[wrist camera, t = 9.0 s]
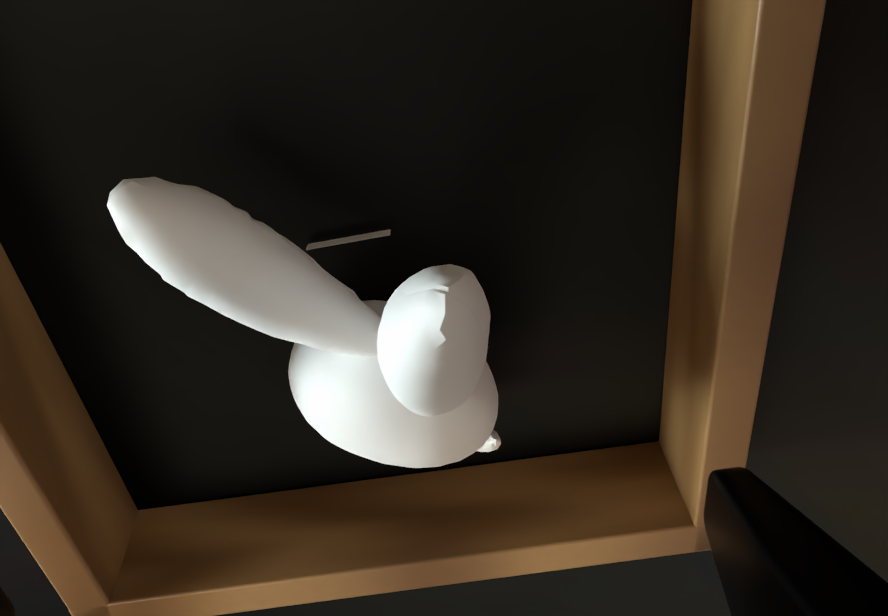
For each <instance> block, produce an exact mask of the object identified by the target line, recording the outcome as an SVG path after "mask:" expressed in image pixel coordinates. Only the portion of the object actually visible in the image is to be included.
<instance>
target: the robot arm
mask: <svg viewBox="0 0 888 616" xmlns="http://www.w3.org/2000/svg"><path fill="white" fill-rule="evenodd" d="M704 525H705V530H706V534H707V537H708V540H709V543H710V547H711V550H712V553H713V556H714V560H715V563H716V566H717V569H718V573H719V576H720V579H721V582H722V586H723V589H724V592H725V595H726V599H727V602H728V605H729V608H730V612H731V615H732V616H888V583H887V582H886V581H885V580H884V579H882V578H881V577H880V576H879V575H877V574H876V573H875V572H874V571H872V570H871V569H870V568H869V567H868V566H866V565H865V564H864V563H863V562H861V561H860V560H859V559H858V558H856V557H855V556H854V555H853V554H852V553H850V552H849V551H848V550H847V549H845V548H844V547H843V546H842V545H840V544H839V543H838V542H837V541H836V540H834V539H833V538H832V537H831V536H829V535H828V534H827V533H826V532H824V531H823V530H822V529H821V528H820V527H818V526H817V525H816V524H815V523H813V522H812V521H811V520H810V519H808V518H807V517H806V516H805V515H804V514H802V513H801V512H800V511H799V510H797V509H796V508H795V507H794V506H793V505H791V504H790V503H789V502H788V501H786V500H785V499H784V498H783V497H781V496H780V495H779V494H778V493H777V492H775V491H774V490H773V489H772V488H770V487H769V486H768V485H767V484H765V483H764V482H763V481H762V480H761V479H759V478H758V477H757V476H756V475H754V474H753V473H752V472H751V471H749V470H748V469H746V468H743V467H733V468H725V469H718V470H714V471H712V472H711V473H710V475H709V478H708V484H707V491H706V499H705V506H704ZM0 616H16V615H15V609H14V606H13V604H12V602H11V600H10V599H9V598H8V596H7V595H6V594H5V592H4V591H3V590H2V588H1V587H0Z"/></svg>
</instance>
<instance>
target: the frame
mask: <svg viewBox="0 0 888 616" xmlns="http://www.w3.org/2000/svg"><path fill="white" fill-rule="evenodd" d="M825 5H826V0H693V2H692V15H691V28H690V41H689V54H688V67H687V81H686V94H685V107H684V120H683V133H682V146H681V159H680V173H679V186H678V199H677V212H676V225H675V238H674V251H673V265H672V278H671V291H670V304H669V317H668V330H667V343H666V357H665V370H664V383H663V396H662V409H661V422H660V435H659V441H657V442H649V443H642V444H634V445H627V446H619V447H611V448H604V449H596V450H589V451H581V452H574V453H566V454H559V455H551V456H544V457H536V458H528V459H521V460H513V461H506V462H498V463H491V464H483V465H476V466H468V467H461V468H453V469H445V470H438V471H430V472H423V473H415V474H408V475H400V476H393V477H385V478H377V479H370V480H362V481H355V482H347V483H340V484H332V485H325V486H317V487H310V488H302V489H294V490H287V491H279V492H272V493H264V494H257V495H249V496H242V497H234V498H227V499H219V500H211V501H204V502H196V503H189V504H181V505H174V506H166V507H159V508H151V509H143V510H138V509H137V507H136V506H135V504H134V502H133V500H132V498H131V496H130V494H129V492H128V490H127V488H126V486H125V484H124V482H123V480H122V478H121V476H120V474H119V472H118V470H117V469H116V467H115V465H114V463H113V461H112V459H111V457H110V455H109V453H108V451H107V449H106V447H105V445H104V443H103V441H102V439H101V437H100V435H99V434H98V432H97V430H96V428H95V426H94V424H93V422H92V420H91V418H90V416H89V414H88V412H87V410H86V408H85V406H84V404H83V402H82V400H81V399H80V397H79V395H78V393H77V391H76V389H75V387H74V385H73V383H72V381H71V379H70V377H69V375H68V373H67V371H66V369H65V367H64V365H63V364H62V362H61V360H60V358H59V356H58V354H57V352H56V350H55V348H54V346H53V344H52V342H51V340H50V338H49V336H48V334H47V332H46V330H45V329H44V327H43V325H42V323H41V321H40V319H39V317H38V315H37V313H36V311H35V309H34V307H33V305H32V303H31V301H30V299H29V297H28V295H27V294H26V292H25V290H24V288H23V286H22V284H21V282H20V280H19V278H18V276H17V274H16V272H15V270H14V268H13V266H12V264H11V262H10V260H9V259H8V257H7V255H6V253H5V251H4V249H3V247H2V245H1V243H0V508H1V509H2V511H3V512H4V514H5V515H6V517H7V518H8V520H9V521H10V523H11V524H12V525H13V527H14V528H15V530H16V531H17V533H18V534H19V536H20V537H21V539H22V540H23V542H24V543H25V545H26V546H27V548H28V549H29V551H30V552H31V554H32V555H33V557H34V558H35V560H36V561H37V563H38V564H39V566H40V567H41V569H42V570H43V572H44V573H45V575H46V576H47V578H48V579H49V581H50V582H51V584H52V585H53V587H54V588H55V590H56V591H57V593H58V594H59V596H60V597H61V599H62V600H63V602H64V603H65V605H66V606H67V608H68V609H69V612H70V613H71V615H72V616H215V615H222V614H230V613H237V612H245V611H252V610H260V609H267V608H275V607H283V606H290V605H298V604H305V603H313V602H320V601H328V600H335V599H343V598H351V597H358V596H366V595H373V594H381V593H388V592H396V591H403V590H411V589H419V588H426V587H434V586H441V585H449V584H456V583H464V582H471V581H479V580H487V579H494V578H502V577H509V576H517V575H524V574H532V573H539V572H547V571H555V570H562V569H570V568H577V567H585V566H592V565H600V564H607V563H615V562H623V561H630V560H638V559H645V558H653V557H660V556H668V555H675V554H683V553H691V552H698V551H706V550H711V547H710V543H709V540H708V537H707V534H706V530H705V525H704V506H705V499H706V491H707V484H708V478H709V475H710V473H711V472H712V471H714V470H718V469H725V468H733V467H743V468H746V462H747V457H748V451H749V445H750V439H751V433H752V428H753V422H754V416H755V410H756V405H757V399H758V393H759V387H760V381H761V376H762V370H763V364H764V358H765V352H766V347H767V341H768V335H769V329H770V323H771V318H772V312H773V306H774V300H775V295H776V289H777V283H778V277H779V271H780V266H781V260H782V254H783V248H784V242H785V237H786V231H787V225H788V219H789V213H790V208H791V202H792V196H793V190H794V185H795V179H796V173H797V167H798V161H799V156H800V150H801V144H802V138H803V132H804V127H805V121H806V115H807V109H808V103H809V98H810V92H811V86H812V80H813V75H814V69H815V63H816V57H817V51H818V46H819V40H820V34H821V28H822V22H823V17H824V11H825Z"/></svg>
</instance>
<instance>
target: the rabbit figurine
mask: <svg viewBox="0 0 888 616" xmlns="http://www.w3.org/2000/svg"><path fill="white" fill-rule="evenodd" d="M107 207H108V209H109V211H110V214H111V216H112V218H113V220H114V222H115V224H116V227H117V229H118V231H119V232H120V234H121V236H122V238H123V239H124V241H125V243H126V244H127V245H128V246H129V247H131V248H132V249H133V250H134V251H135V252H137V253H138V255H139V256H140V257H141V258H142V259H143V260H144V261H145V263H147V264H148V265H149V266H150V267H151V268H153V269H154V270H155V271H156V272H158V273H159V274H160V275H161V277H162V279H163V280H164V281H166V282H167V283H169V284H171V285H172V286H174V287H176V288H177V289H179V290H181V291H182V292H184V293H185V294H186V295H187V296H188V297H190V298H192V299H194V300H196V301H198V302H200V303H202V304H204V305H206V306H208V307H210V308H212V309H213V310H215V311H217V312H219V313H221V314H223V315H224V316H226V317H229V318H231V319H233V320H235V321H237V322H239V323H241V324H244V325H246V326H248V327H250V328H253V329H255V330H257V331H260V332H262V333H265V334H267V335H270V336H272V337H275V338H279V339H283V340H287V341H291V342H295V343H294V346H293V349H292V351H291V356H290V361H289V369H288V375H289V382H290V388H291V391H292V394H293V397H294V400H295V402H296V404H297V406H298V408H299V409H300V411H301V413H302V414H303V416H304V417H305V419H306V421H307V422H308V423H309V424H310V425H311V426H312V427H313V428H314V429H315V430H317V431H318V432H319V433H320V434H321V435H322V436H323V437H324V438H325V439H326V440H328V441H329V442H331V443H332V444H334V445H336V446H338V447H340V448H342V449H344V450H346V451H349V452H351V453H353V454H356V455H359V456H361V457H364V458H367V459H370V460H373V461H376V462H379V463H383V464H388V465H395V466H401V467H408V468H427V467H440V466H443V465H446V464H450V463H454V462H458V461H461V460H463V459H464V458H466V457H468V456H470V455H472V454H473V453H474V452H476V451H479V452H491V451H494V450H496V449H498V448H499V446H500V445H501V440H500V437H499V435H498V434H497V432H496V431H494V430H493V428H494V425H495V422H496V419H497V415H498V392H497V388H496V384H495V381H494V378H493V375H492V372H491V370H490V368H489V366H488V363H487V362H486V356H487V349H488V337H489V328H490V317H491V316H490V309H489V305H488V302H487V299H486V297H485V294H484V291H483V289H482V287H481V286H480V284H479V282H478V280H477V279H476V277H475V275H474V274H473V273H472V272H471V271H470V270H468V269H465V268H463V267H460V266H456V265H452V264H447V265H440V266H432V267H428V268H426V269H423V270H421V271H420V272H418V273H416V274H414V275H412V276H411V277H409V278H408V279H407V280H406V281H404V282H403V283H402V284H401V285H400V286H399V287H398V288H397V289H396V290H395V291H394V292H393V294H392V295H391V297H390V298H389V300H388V301H381V300H368V301H361V300H360V299H359V298H358V296H357V295H356V293H355V292H354V291H353V290H352V289H350V288H349V287H347V286H346V285H344V284H343V283H341V282H340V281H338V280H337V279H336V278H334V277H333V276H332V275H330V274H329V273H328V272H326V271H325V270H324V269H322V268H321V267H320V265H319V264H318V263H317V262H316V261H315V260H314V259H313V258H312V257H310V256H309V255H308V254H307V253H305V252H304V251H303V250H302V249H300V248H299V247H298V246H296V245H295V244H294V243H292V242H291V241H289V240H288V239H287V238H285V237H284V236H282V235H280V234H278V233H277V232H276V231H274V230H273V229H272V228H271V227H269V226H268V225H266V224H264V223H263V222H260V221H257V220H254V219H252V217H251V216H250V215H249V213H248V212H246V211H244V210H241V209H239V208H236V207H234V206H233V205H231V204H230V203H229V202H228V201H227V200H225V199H223V198H221V197H219V196H217V195H215V194H213V193H210V192H208V191H206V190H204V189H202V188H199V187H197V186H190V185H180V184H176V183H172V182H168V181H165V180H162V179H160V178H157V177H148V178H136V179H123V180H122V181H121V182H120V183H119V184H118V185H117V186H116V187H115V188H114V189H113V190H112V191H111V192H110V194H109V199H108V203H107ZM390 231H391V229H389V230H383V231H378V232H372V233H367V234H361V235H355V236H350V237H344V238H339V239H333V240H327V241H322V242H316V243H311V244H308V245H307V247H306V250H311V249H316V248H322V247H327V246H333V245H339V244H344V243H350V242H355V241H361V240H367V239H372V238H378V237H383V236H389V235H390Z"/></svg>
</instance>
